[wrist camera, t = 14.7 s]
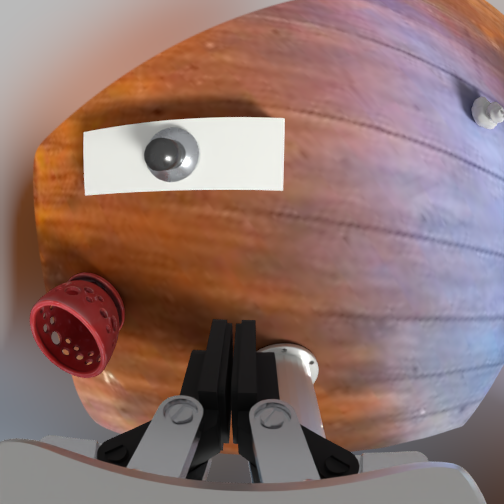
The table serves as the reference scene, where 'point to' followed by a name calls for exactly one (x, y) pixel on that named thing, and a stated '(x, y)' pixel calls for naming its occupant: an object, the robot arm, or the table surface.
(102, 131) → the bar
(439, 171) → the table surface
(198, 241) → the table surface
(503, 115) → the grey rounded lumpy piece
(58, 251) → the table surface
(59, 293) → the plant pot
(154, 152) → the silver and black post
